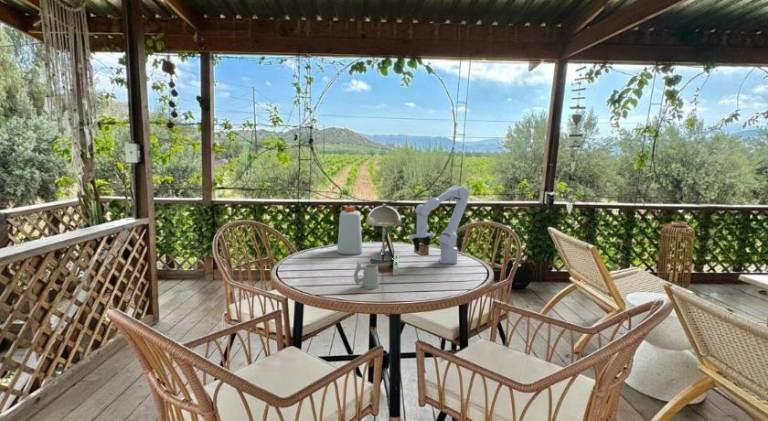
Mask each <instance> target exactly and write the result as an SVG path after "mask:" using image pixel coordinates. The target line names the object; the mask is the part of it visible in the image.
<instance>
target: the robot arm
mask: <svg viewBox="0 0 768 421" xmlns="http://www.w3.org/2000/svg"><path fill="white" fill-rule="evenodd" d="M469 195H470V192H469V190H468V188H467V187H466V186H459V185H456V184H454V185H452V186H450V187H448V189H447V190H445V191H444V192H442V193H441V194H440V195H437V197H436V196H435V197H430V198H429V199H428V200H426V201H423V202H422V204H421V203H420V204H418V205H417V206H416V208H415V209H414V212H415V214H416V233H415V234H409V235H408V236H409V237H408V238H409V239H410V240H411V241H412V242H413V247H414V246H415V250H416V251H417V252H418V251H419V243H421V240H420V239H422V242H423V244H425V245H427V246H429V244H430V242H431V240H432V238H434V233H433V232H428V215H430V213H431V211H433V210H435V209H436V208H439V206H440V204H441V203H442V202H444V201H446V200H448V199H450V198H453V199H454V201H455V203H456V204H455V207H454V210H453V212H452V215H451V217H450V219H449V222H448V224H447V227H446V229H444V230H443V231H442V233H440V235H439V236H438V243H439V244H440V254H439V256H440V257H439V258H438V261H439V264H449V265H451V264H452V265H453V264H458V247H456V245H457V239H458V235H457V230H458V227H459V225H460V222H461V220H462V219H463V218H462V217H463V215H464V213H465V210H466V208H467V205H468V198H469V197H468V196H469Z"/></svg>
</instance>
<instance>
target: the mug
mask: <svg viewBox="0 0 768 421" xmlns="http://www.w3.org/2000/svg"><path fill="white" fill-rule="evenodd" d="M362 270H363V272H362V274H363V277H360V278H359V273H360V271H362ZM353 279H354V282H355V284H356V285H359V284H360V283H362V286H363V289H367V290H375V289H377V288H378V287H379V284H380V281H379V266H378V265H377V264H373V263H371V264H370V263H368V264H365V265H364V266H362V264H361V263H360V262H359V261H357V265H356V268H355V270H354V273H353Z"/></svg>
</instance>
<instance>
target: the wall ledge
mask: <svg viewBox="0 0 768 421" xmlns="http://www.w3.org/2000/svg"><path fill="white" fill-rule="evenodd" d="M399 259H400V254H394V261H393V267H392V268H393V269H392V275H393V276H398V275H399Z"/></svg>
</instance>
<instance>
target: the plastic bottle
mask: <svg viewBox="0 0 768 421" xmlns="http://www.w3.org/2000/svg"><path fill="white" fill-rule="evenodd" d="M338 223H339V224H338V235H337V236H338V237H337V253H338V254H339V255H342V256H343V255H345V256H346V255H351V256H354V255H361V254H362V253H363V240H362V238H363V237H362V224H361V212H360V210H356V208H355V207H354V206H345V207H344V210H341V211H340V213H339V222H338Z"/></svg>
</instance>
